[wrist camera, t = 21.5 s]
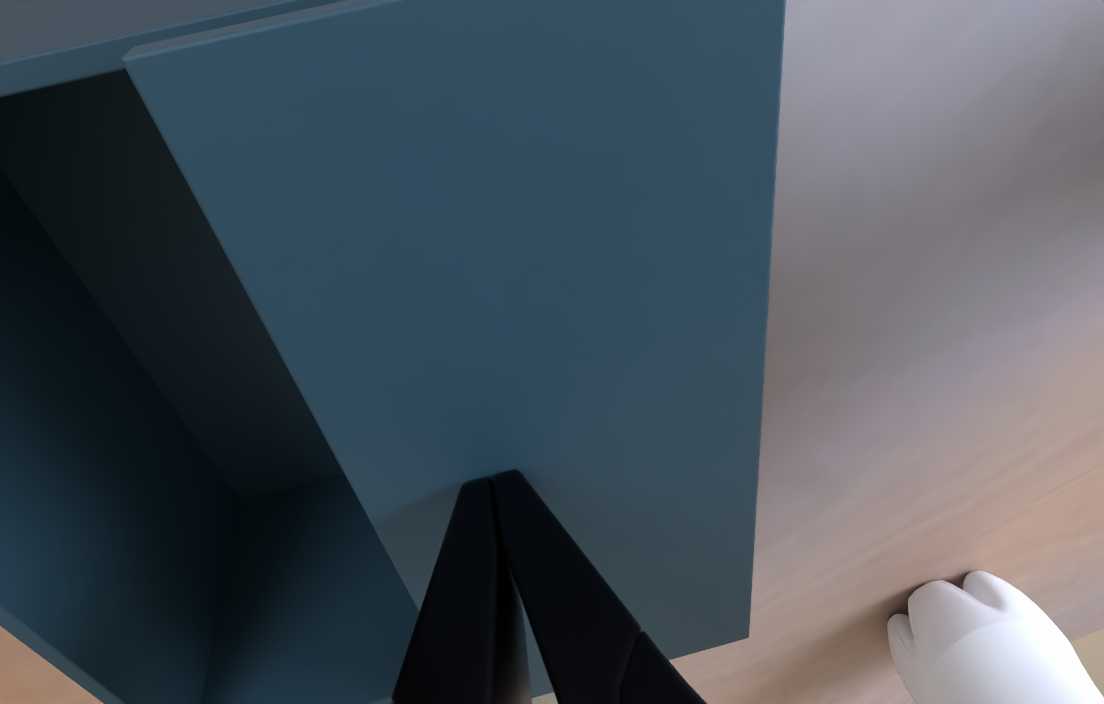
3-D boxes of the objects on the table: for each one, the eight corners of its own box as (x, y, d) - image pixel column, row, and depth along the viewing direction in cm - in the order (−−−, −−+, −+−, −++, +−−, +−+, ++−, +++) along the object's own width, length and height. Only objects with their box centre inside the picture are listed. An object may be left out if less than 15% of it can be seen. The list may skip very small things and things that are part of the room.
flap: (774, -95, 6) (793, -92, 6) (742, 621, 15) (749, 638, 15) (130, 46, 6) (117, 57, 6) (472, 696, 15) (474, 715, 14)
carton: (585, -135, 12) (761, -105, 7) (640, 396, 21) (738, 605, 15) (-118, 14, 12) (-584, 189, 6) (237, 503, 20) (183, 764, 15)
